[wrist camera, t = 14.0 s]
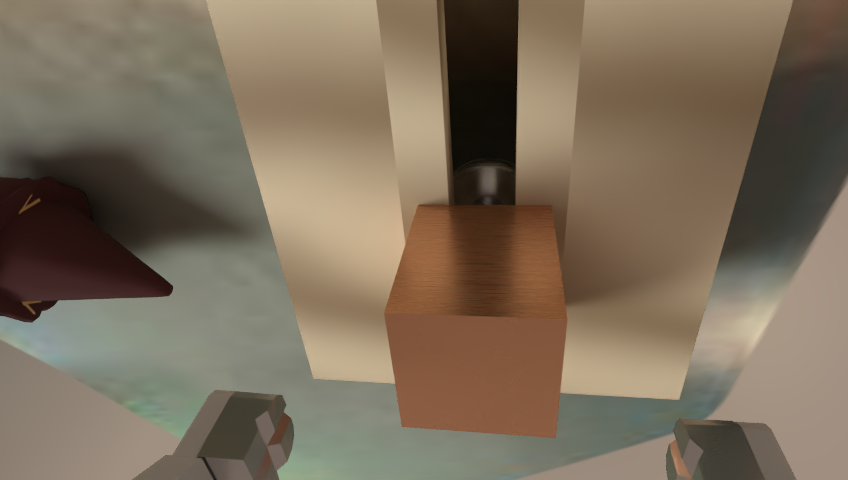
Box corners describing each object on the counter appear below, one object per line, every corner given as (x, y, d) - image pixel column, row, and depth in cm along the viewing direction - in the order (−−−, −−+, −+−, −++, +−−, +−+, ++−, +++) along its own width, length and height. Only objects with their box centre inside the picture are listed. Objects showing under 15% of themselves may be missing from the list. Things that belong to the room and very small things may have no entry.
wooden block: (434, 152, 19) (383, 312, 11) (544, 151, 18) (567, 319, 11) (440, 242, 21) (402, 426, 14) (538, 243, 20) (555, 437, 13)
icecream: (119, 244, 20) (-207, 141, 21) (113, 396, 22) (-179, 296, 23) (218, 202, 26) (-36, 126, 27) (204, 324, 29) (-27, 249, 30)
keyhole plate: (230, -429, 14) (6, -701, 8) (787, -553, 12) (1101, -1076, 5) (359, 270, 27) (313, 378, 21) (636, 275, 25) (679, 399, 18)
